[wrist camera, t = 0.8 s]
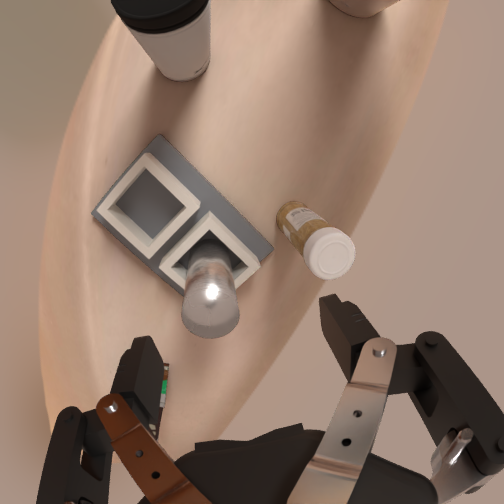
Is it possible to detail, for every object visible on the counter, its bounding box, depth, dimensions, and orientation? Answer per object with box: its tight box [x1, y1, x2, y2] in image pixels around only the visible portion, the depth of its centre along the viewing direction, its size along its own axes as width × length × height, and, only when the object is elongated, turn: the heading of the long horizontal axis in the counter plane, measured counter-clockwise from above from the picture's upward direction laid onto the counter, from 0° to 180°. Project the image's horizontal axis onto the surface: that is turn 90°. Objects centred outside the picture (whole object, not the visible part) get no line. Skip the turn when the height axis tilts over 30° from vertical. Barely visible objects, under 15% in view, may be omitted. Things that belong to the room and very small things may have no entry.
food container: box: [148, 363, 169, 442], centre depth 39 cm, size 12×6×10 cm, turn 163°
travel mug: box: [111, 0, 211, 82], centre depth 19 cm, size 6×7×20 cm
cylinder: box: [181, 239, 240, 339], centre depth 31 cm, size 5×5×13 cm
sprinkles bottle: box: [277, 202, 355, 280], centre depth 31 cm, size 5×5×13 cm
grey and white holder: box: [91, 134, 274, 297], centre depth 34 cm, size 13×20×4 cm, turn 43°
